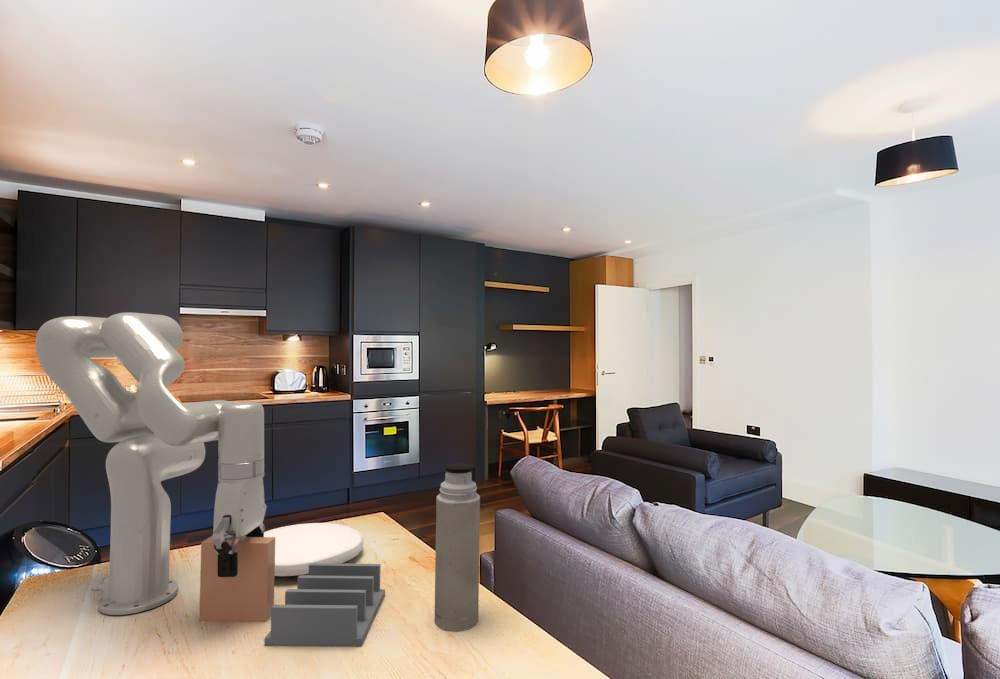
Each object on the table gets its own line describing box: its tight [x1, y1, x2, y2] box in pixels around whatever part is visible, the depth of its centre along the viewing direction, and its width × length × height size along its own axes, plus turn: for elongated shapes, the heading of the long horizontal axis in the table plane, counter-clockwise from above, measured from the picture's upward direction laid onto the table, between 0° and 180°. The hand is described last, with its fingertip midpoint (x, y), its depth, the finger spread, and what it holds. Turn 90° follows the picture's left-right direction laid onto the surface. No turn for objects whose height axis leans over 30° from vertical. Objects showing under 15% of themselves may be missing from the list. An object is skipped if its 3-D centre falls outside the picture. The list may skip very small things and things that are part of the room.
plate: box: [264, 522, 364, 577], centre depth 118 cm, size 28×6×27 cm
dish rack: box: [263, 563, 386, 647], centre depth 92 cm, size 16×18×6 cm
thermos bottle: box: [434, 463, 481, 632], centre depth 93 cm, size 8×8×28 cm
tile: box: [198, 536, 276, 623], centre depth 92 cm, size 12×3×14 cm, turn 90°
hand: (241, 564), depth 92 cm, fingers open, 9 cm apart
